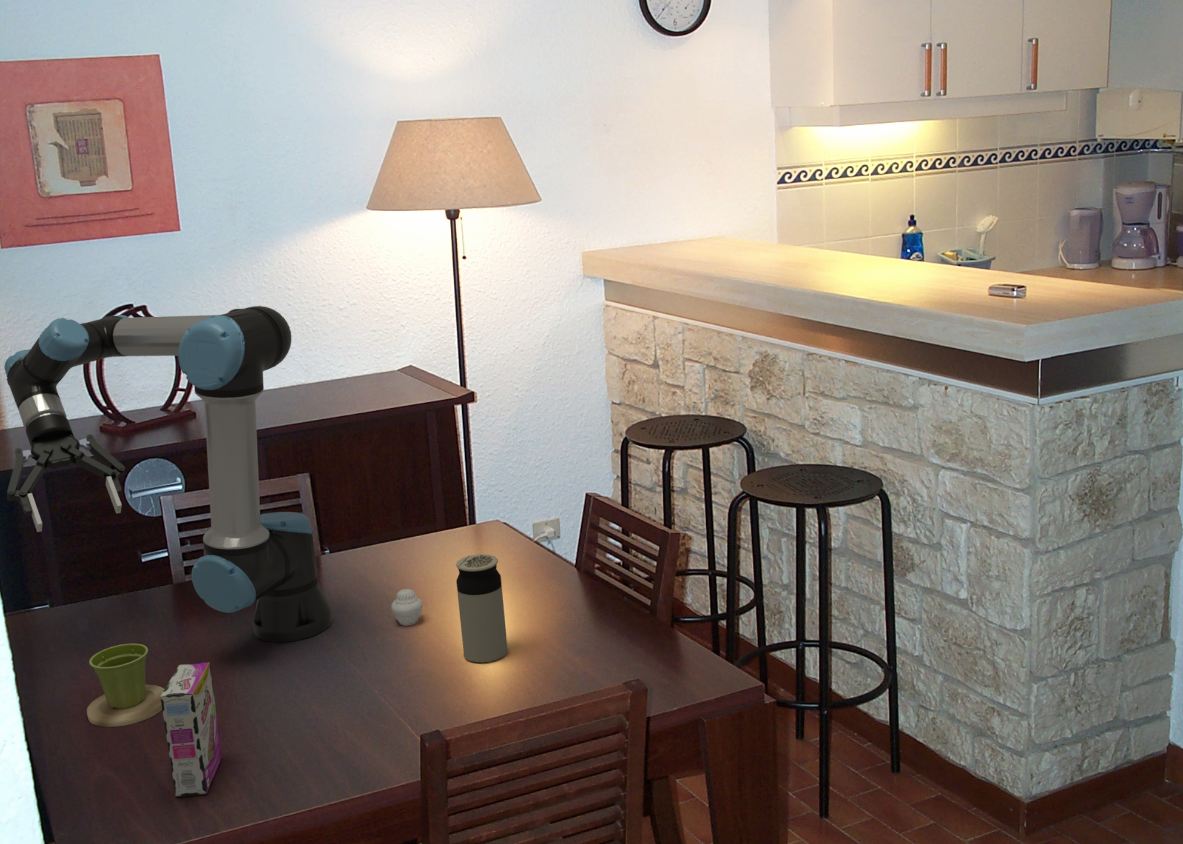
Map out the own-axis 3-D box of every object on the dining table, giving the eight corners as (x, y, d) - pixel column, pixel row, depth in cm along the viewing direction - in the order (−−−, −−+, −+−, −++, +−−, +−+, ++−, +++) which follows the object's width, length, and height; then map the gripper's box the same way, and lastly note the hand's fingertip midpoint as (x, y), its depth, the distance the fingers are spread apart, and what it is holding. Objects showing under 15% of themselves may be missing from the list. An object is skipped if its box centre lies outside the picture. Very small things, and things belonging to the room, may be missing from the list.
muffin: (386, 627, 232) (382, 593, 230) (403, 614, 237) (399, 582, 236) (414, 630, 229) (410, 596, 228) (430, 617, 235) (426, 584, 233)
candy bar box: (209, 795, 176) (192, 693, 172) (175, 798, 176) (157, 697, 172) (225, 756, 187) (210, 660, 183) (193, 759, 187) (177, 663, 183)
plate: (181, 691, 211) (180, 684, 210) (143, 727, 198) (142, 720, 198) (114, 690, 213) (112, 683, 212) (72, 726, 200) (71, 719, 200)
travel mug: (515, 647, 219) (507, 555, 214) (494, 666, 212) (485, 571, 207) (478, 642, 222) (469, 551, 218) (455, 660, 215) (446, 567, 211)
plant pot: (100, 720, 199) (92, 672, 197) (95, 698, 207) (86, 652, 205) (159, 704, 203) (151, 657, 201) (151, 683, 211) (143, 638, 209)
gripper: (113, 422, 232) (148, 512, 224) (-27, 449, 218) (4, 546, 210) (116, 399, 227) (152, 491, 218) (-28, 426, 213) (5, 524, 204)
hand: (80, 518), depth 214 cm, fingers open, 13 cm apart
